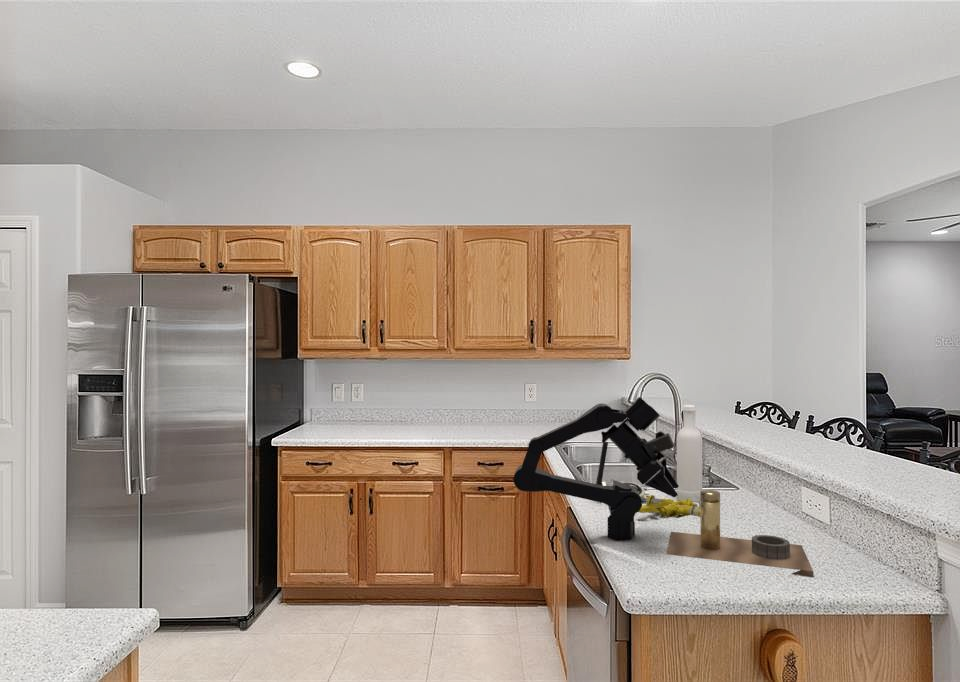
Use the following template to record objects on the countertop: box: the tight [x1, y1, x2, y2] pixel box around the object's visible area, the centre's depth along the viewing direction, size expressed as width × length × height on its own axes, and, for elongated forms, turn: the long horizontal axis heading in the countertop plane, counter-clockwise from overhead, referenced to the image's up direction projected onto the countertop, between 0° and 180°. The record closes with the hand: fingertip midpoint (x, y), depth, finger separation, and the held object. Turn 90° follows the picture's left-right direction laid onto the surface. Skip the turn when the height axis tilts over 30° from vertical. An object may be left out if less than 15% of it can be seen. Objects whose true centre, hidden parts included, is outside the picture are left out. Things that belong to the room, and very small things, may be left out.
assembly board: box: [665, 531, 814, 578], centre depth 143 cm, size 30×18×4 cm, turn 69°
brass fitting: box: [699, 489, 721, 550], centre depth 145 cm, size 4×4×13 cm
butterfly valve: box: [595, 441, 650, 503], centre depth 190 cm, size 9×20×17 cm
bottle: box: [676, 404, 703, 503], centre depth 195 cm, size 8×8×30 cm
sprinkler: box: [638, 494, 700, 518], centre depth 175 cm, size 22×6×20 cm
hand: (676, 491), depth 148 cm, fingers open, 9 cm apart
